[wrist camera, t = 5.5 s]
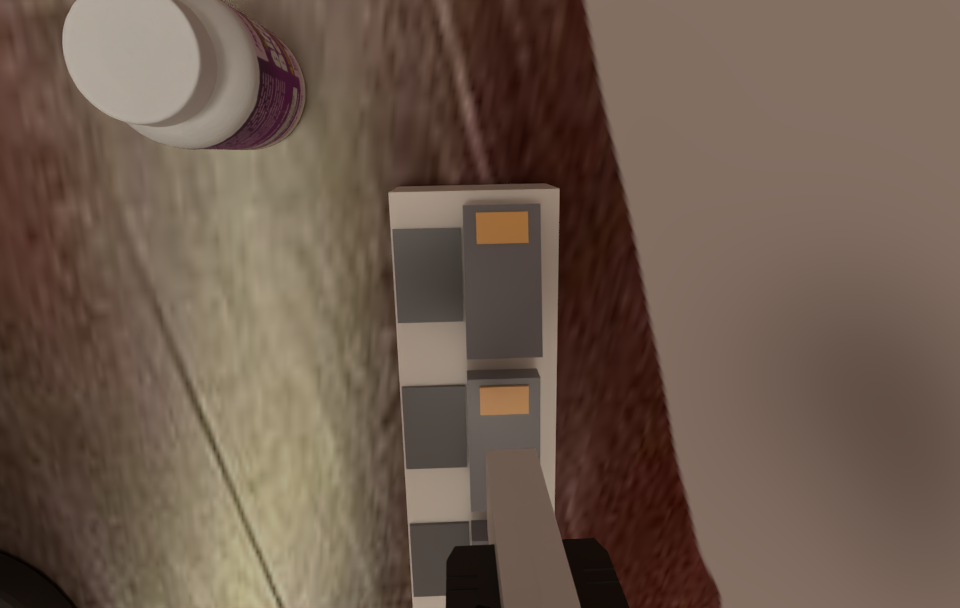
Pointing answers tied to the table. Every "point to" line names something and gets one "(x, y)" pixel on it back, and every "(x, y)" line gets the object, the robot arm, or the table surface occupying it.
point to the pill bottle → (184, 72)
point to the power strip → (454, 363)
